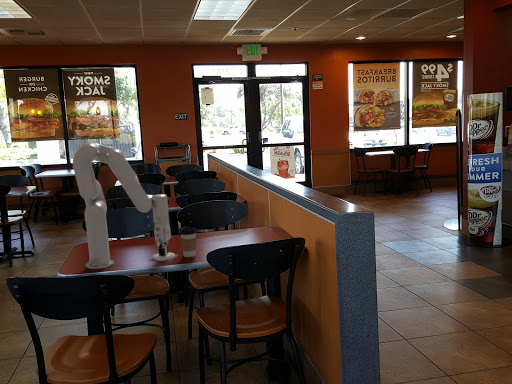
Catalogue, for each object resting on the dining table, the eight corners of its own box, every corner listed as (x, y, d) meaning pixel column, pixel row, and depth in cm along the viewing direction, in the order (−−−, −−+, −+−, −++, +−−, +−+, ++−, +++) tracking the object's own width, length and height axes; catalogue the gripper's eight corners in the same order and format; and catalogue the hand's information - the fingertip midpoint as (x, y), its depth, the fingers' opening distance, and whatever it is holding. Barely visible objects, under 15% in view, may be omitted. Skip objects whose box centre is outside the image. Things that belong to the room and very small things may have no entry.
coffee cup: (182, 259, 237) (180, 230, 235) (180, 255, 246) (179, 226, 243) (198, 257, 239) (197, 228, 237) (197, 253, 247) (195, 225, 245)
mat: (170, 262, 233) (170, 261, 233) (148, 262, 235) (148, 260, 235) (179, 255, 245) (179, 254, 244) (157, 255, 247) (157, 254, 247)
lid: (170, 261, 233) (169, 248, 232) (149, 260, 236) (148, 247, 235) (178, 254, 244) (177, 242, 243) (158, 254, 246) (157, 241, 245)
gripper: (161, 222, 228) (164, 259, 231) (174, 215, 244) (176, 250, 247) (147, 222, 230) (150, 259, 232) (160, 215, 246) (163, 249, 248)
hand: (163, 254), depth 240 cm, fingers closed on lid, 3 cm apart
